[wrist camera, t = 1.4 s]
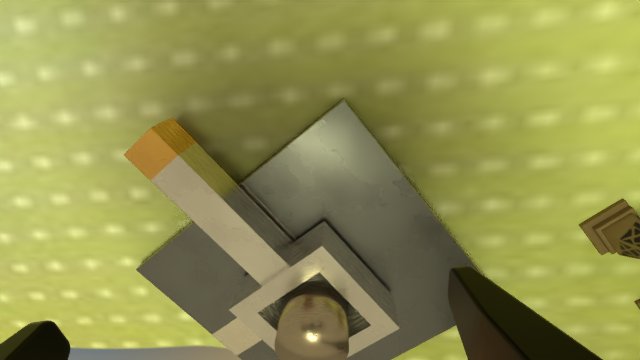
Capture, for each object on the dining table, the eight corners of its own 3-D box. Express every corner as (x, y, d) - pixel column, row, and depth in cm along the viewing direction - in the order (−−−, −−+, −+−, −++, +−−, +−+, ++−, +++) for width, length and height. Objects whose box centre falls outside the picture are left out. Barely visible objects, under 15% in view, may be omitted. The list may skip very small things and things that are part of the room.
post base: (497, 292, 24) (544, 368, 18) (300, 398, 29) (291, 484, 23) (343, 98, 20) (345, 121, 14) (142, 262, 25) (84, 328, 19)
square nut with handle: (393, 296, 23) (400, 328, 21) (310, 344, 25) (307, 379, 23) (202, 88, 19) (181, 96, 16) (120, 167, 21) (89, 186, 18)
